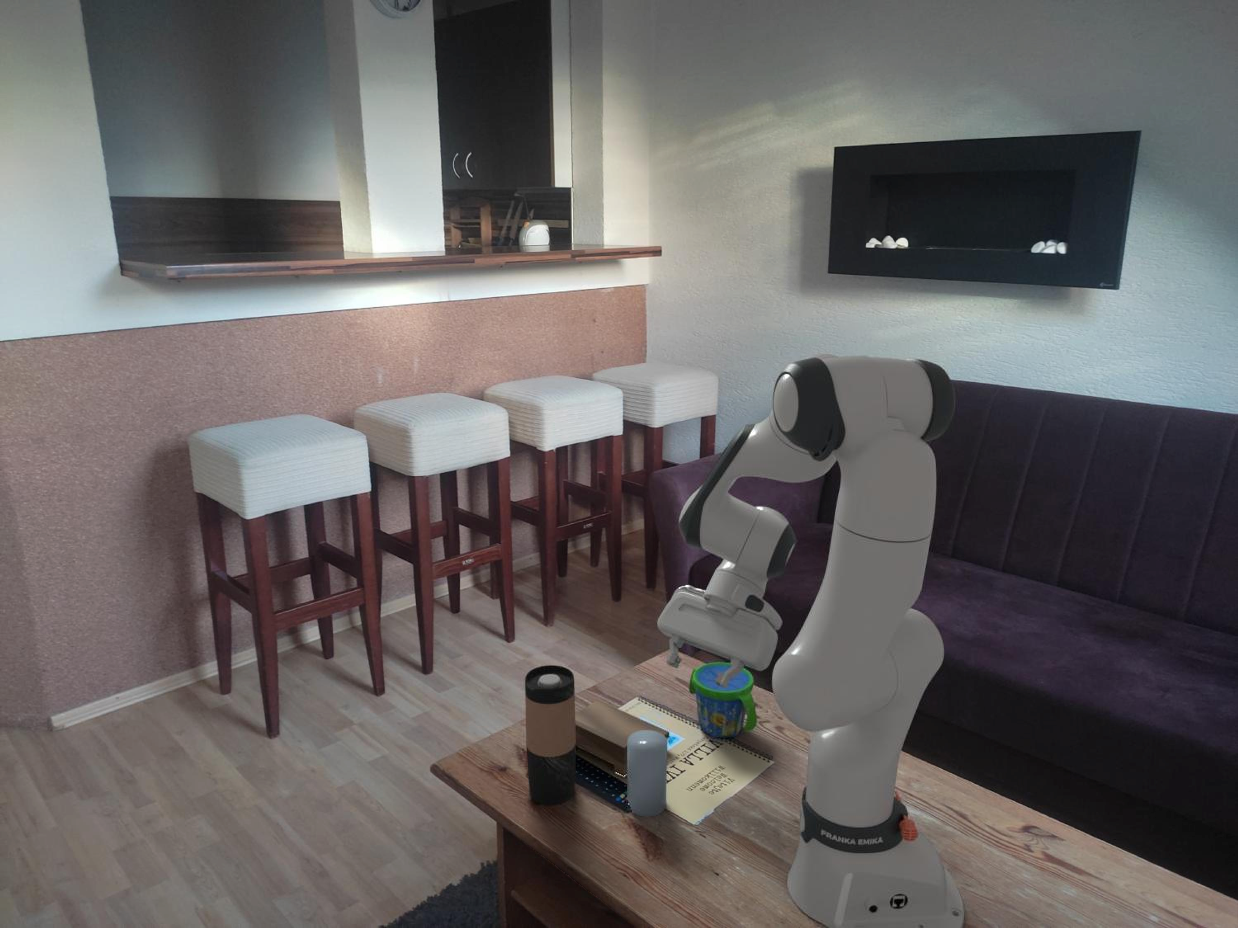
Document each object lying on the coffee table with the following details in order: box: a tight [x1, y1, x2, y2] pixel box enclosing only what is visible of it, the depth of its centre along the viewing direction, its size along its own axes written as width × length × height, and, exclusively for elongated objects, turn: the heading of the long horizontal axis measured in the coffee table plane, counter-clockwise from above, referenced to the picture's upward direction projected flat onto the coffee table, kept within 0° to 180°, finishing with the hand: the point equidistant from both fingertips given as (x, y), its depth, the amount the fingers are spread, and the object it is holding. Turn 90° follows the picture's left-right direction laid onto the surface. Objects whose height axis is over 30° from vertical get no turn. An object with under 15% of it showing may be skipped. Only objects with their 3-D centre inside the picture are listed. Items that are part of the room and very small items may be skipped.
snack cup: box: [688, 662, 758, 739], centre depth 156 cm, size 16×10×10 cm
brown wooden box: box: [575, 699, 670, 776], centre depth 152 cm, size 12×16×6 cm
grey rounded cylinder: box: [626, 730, 668, 818], centre depth 136 cm, size 6×6×11 cm
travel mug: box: [524, 664, 577, 806], centre depth 138 cm, size 8×8×20 cm
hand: (695, 675), depth 142 cm, fingers open, 8 cm apart
